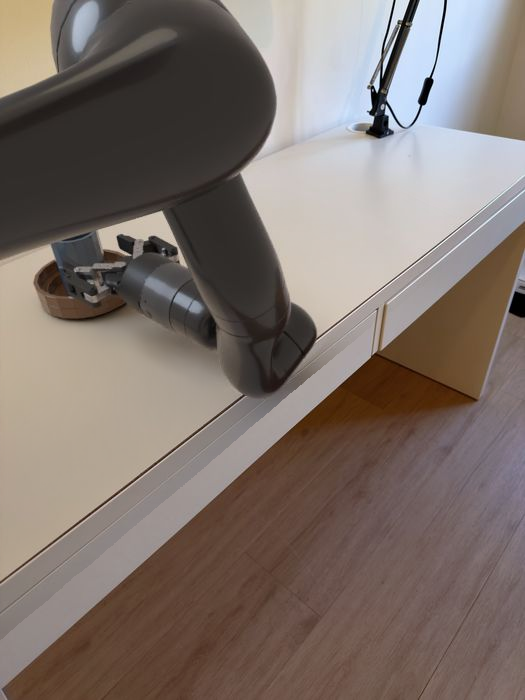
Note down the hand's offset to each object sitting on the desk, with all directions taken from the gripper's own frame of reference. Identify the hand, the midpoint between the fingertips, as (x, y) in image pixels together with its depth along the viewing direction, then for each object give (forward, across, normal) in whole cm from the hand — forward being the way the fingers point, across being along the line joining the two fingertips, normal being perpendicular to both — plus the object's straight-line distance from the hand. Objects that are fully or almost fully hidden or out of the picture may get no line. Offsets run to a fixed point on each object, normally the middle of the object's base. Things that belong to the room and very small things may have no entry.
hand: (93, 252), depth 72 cm
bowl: (+5, 0, +9) cm, 10 cm away
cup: (+5, 0, +8) cm, 10 cm away
